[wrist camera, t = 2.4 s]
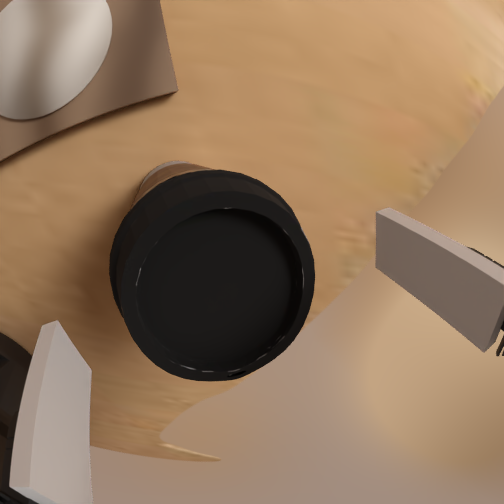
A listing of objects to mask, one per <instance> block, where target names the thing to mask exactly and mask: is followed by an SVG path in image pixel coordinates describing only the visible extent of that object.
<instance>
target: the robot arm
mask: <svg viewBox="0 0 504 504" xmlns="http://www.w3.org/2000/svg"><path fill="white" fill-rule="evenodd" d="M376 268H377V269H379V270H380V271H381V272H383V273H384V274H385V275H387V276H388V277H389V278H391V279H392V280H393V281H395V282H396V283H397V284H399V285H400V286H401V287H403V288H404V289H405V290H407V291H408V292H409V293H410V294H412V295H413V296H414V297H416V298H417V299H418V300H420V301H421V302H422V303H423V304H425V305H426V306H427V307H429V308H430V309H431V310H432V311H434V312H435V313H436V314H437V315H439V316H440V317H441V318H442V319H444V320H445V321H446V322H448V323H449V324H450V325H451V326H452V327H454V328H455V329H456V330H457V331H459V332H460V333H461V334H462V335H463V336H465V337H466V338H467V339H468V340H469V341H471V342H472V343H473V344H474V345H475V346H477V347H478V348H479V349H480V350H481V351H482V352H485V351H486V350H487V349H489V348H490V347H491V346H492V345H493V344H494V343H495V341H496V339H497V336H498V334H499V332H500V329H501V330H503V331H504V266H502V265H501V264H499V263H497V262H496V261H492V259H490V258H489V257H487V256H484V254H482V253H480V252H478V251H477V250H475V249H473V248H469V247H466V246H464V245H462V244H460V243H458V242H457V241H455V240H453V239H451V238H449V237H447V236H445V235H443V234H442V233H440V232H438V231H436V230H434V229H432V228H430V227H428V226H426V225H424V224H422V223H420V222H418V221H416V220H414V219H412V218H410V217H408V216H406V215H404V214H402V213H400V212H398V211H396V210H394V209H391V208H389V207H388V208H385V209H383V210H380V211H377V212H376ZM503 347H504V336H503V338H502V340H501V343H500V345H499V347H498V349H497V351H496V356H499V355H500V352H501V351H502V348H503ZM502 356H504V351H503V354H502ZM91 376H92V370H91V369H90V367H89V366H88V364H87V363H86V362H85V360H84V359H83V358H82V356H81V355H80V353H79V352H78V350H77V349H76V347H75V346H74V345H73V343H72V342H71V340H70V339H69V337H68V335H67V334H66V332H65V331H64V329H63V328H62V326H61V325H60V323H59V321H58V320H56V321H53V322H50V323H47V324H44V325H42V328H41V331H40V334H39V337H38V340H37V343H36V346H35V350H34V353H33V356H31V355H30V354H29V353H28V352H27V351H26V350H25V349H23V348H22V347H21V346H20V345H18V344H17V343H16V342H14V341H13V340H12V339H10V338H8V337H7V336H5V335H3V334H2V333H0V504H93V497H92V484H91V468H90V393H91Z"/></svg>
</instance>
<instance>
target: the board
mask: <svg viewBox="0 0 504 504" xmlns="http://www.w3.org/2000/svg"><path fill="white" fill-rule="evenodd" d="M177 91H178V86H177V81H176V77H175V72H174V68H173V63H172V59H171V54H170V49H169V44H168V40H167V35H166V30H165V25H164V20H163V15H162V10H161V5H160V0H0V162H1V161H3V160H5V159H6V158H8V157H10V156H12V155H14V154H16V153H17V152H19V151H21V150H23V149H25V148H27V147H29V146H31V145H33V144H35V143H37V142H39V141H42V140H44V139H46V138H48V137H50V136H52V135H54V134H57V133H59V132H61V131H64V130H66V129H68V128H71V127H73V126H75V125H78V124H80V123H83V122H85V121H88V120H90V119H93V118H96V117H98V116H101V115H104V114H107V113H109V112H112V111H115V110H118V109H121V108H124V107H127V106H130V105H133V104H136V103H140V102H143V101H146V100H150V99H153V98H157V97H160V96H164V95H167V94H171V93H175V92H177Z"/></svg>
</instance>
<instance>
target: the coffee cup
mask: <svg viewBox="0 0 504 504" xmlns="http://www.w3.org/2000/svg"><path fill="white" fill-rule="evenodd" d="M109 275H110V281H111V286H112V291H113V296H114V300H115V302H116V304H117V306H118V309H119V311H120V313H121V315H122V317H123V318H124V321H125V323H126V325H127V327H128V330H129V332H130V334H131V336H132V338H133V340H134V341H135V343H136V344H137V345H138V347H139V348H140V349H141V351H142V352H143V353H144V354H145V355H146V356H147V357H148V358H149V359H150V360H151V361H152V362H153V363H154V364H155V365H157V366H158V367H160V368H161V369H163V370H165V371H166V372H168V373H170V374H172V375H175V376H178V377H181V378H184V379H189V380H195V381H227V380H234V379H238V378H241V377H244V376H246V375H248V374H250V373H252V372H254V371H256V370H257V369H259V368H261V367H263V366H264V365H266V364H268V363H269V362H271V361H272V360H274V359H275V358H276V357H277V356H279V355H280V354H281V353H282V352H284V351H285V350H286V348H287V347H288V346H289V345H290V344H291V343H292V342H293V341H294V340H295V338H296V336H297V335H298V333H299V332H300V330H301V328H302V327H303V325H304V322H305V320H306V318H307V315H308V313H309V310H310V306H311V302H312V298H313V294H314V284H315V269H314V259H313V255H312V251H311V248H310V244H309V241H308V239H307V238H306V236H305V234H304V232H303V230H302V228H301V226H300V223H299V222H298V220H297V218H296V216H295V214H294V212H293V210H292V209H291V207H290V206H289V205H288V204H287V203H286V202H285V200H284V199H283V198H282V197H281V196H280V195H279V194H278V193H276V192H275V191H274V190H272V189H271V188H269V187H268V186H267V185H265V184H264V183H262V182H261V181H259V180H257V179H254V178H252V177H249V176H247V175H244V174H242V173H237V172H231V171H225V170H214V169H210V168H207V167H203V166H199V165H195V164H191V163H188V162H183V161H171V162H167V163H164V164H162V165H160V166H158V167H156V168H155V169H153V170H152V171H151V172H150V173H149V174H148V175H147V176H146V177H145V179H144V181H143V183H142V184H141V187H140V190H139V192H138V194H137V196H136V198H135V200H134V202H133V204H132V207H131V209H130V211H129V212H128V214H127V215H126V216H125V217H124V219H123V221H122V223H121V225H120V227H119V229H118V231H117V233H116V235H115V238H114V241H113V245H112V249H111V253H110V267H109Z"/></svg>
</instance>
